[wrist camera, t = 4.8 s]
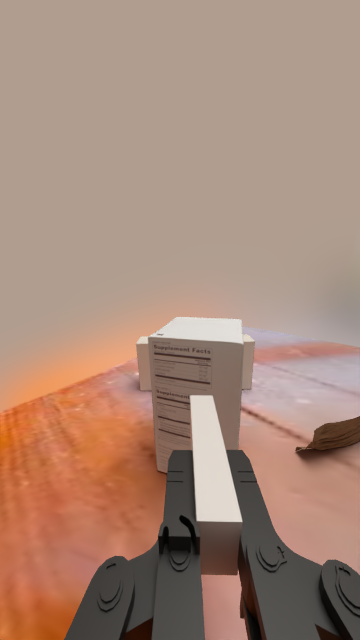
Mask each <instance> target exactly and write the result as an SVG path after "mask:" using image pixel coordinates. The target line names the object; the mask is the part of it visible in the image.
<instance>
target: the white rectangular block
mask: <svg viewBox="0 0 360 640" xmlns="http://www.w3.org/2000/svg"><path fill="white" fill-rule="evenodd" d="M148 337H149V336H148ZM148 337H140V339H139V340H138V342H137V343H136V346H137V358H138V369H139V380H140V391H148V390H151V377H150V362H149V348H148ZM243 341H244V358H243V376H242V389H251V387H252V373H253V360H254V346H255V341H254V340H253V339H252V338H251V337H250V336H249V335H243Z"/></svg>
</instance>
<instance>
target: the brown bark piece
mask: <svg viewBox="0 0 360 640" xmlns="http://www.w3.org/2000/svg"><path fill="white" fill-rule="evenodd" d="M359 440H360V416H359V417H357V418H354V419H350V420H346V421H341V422H336V423H326V424H324V425H322V426H321V427H319V428H317V429H316V430H315V431H314V438H313V442H311V443H310V444H309V445H308V446H307V447H296V451H297V450H300V449H307V448H313V449H316V450H325V449H329V448H335V447H344V446H347V445H351V444H353V443H356V442H358V441H359Z"/></svg>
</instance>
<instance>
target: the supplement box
mask: <svg viewBox="0 0 360 640" xmlns="http://www.w3.org/2000/svg"><path fill="white" fill-rule="evenodd" d="M148 348H149V362H150V377H151V390H152V404H153V419H154V434H155V448H156V462H157V470H158V471H161V472H165V473H167V470H168V459H169V457H170V455H171V453H172V451H173V450H191V440H190V395H212V396H213V399H214V403H215V408H216V412H217V416H218V420H219V424H220V429H221V433H222V437H223V441H224V446H225V450H238V445H239V428H240V411H241V394H242V376H243V358H244V341H243V330H242V320H238V319H218V318H192V317H176V318H174V319H173V320H172V321H171V322H169V323H168V324H167V325H165V326H164V327H163V328H161V329H160V330H158V331H157V332H155V333H154V334H152V335H150V336H149V337H148Z"/></svg>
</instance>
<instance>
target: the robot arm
mask: <svg viewBox="0 0 360 640" xmlns="http://www.w3.org/2000/svg"><path fill="white" fill-rule="evenodd" d="M190 440H191V450H173V451H172V453H171V455H170V457H169V459H168V470H167V483H166V495H165V507H164V519H163V522H162V524H161V526H160V530H159V534H158V540H157V542H156V544H155V545H154V546H153V547H152V548H151V549H150V550H149V551H147V552H146V553H144V554H142V555H140V556H138V557H136V558H134V559H131V560H129V561H128V560H127V559H125V558H124V557H123V556H114V557H112V558H110V559H107V560H106V561H105V562H104V563H103V564H102V565H101V566H100V567H99V568H98V570H97V571H96V573H95V575H94V576H93V578H92V580H91V582H90V584H89V586H88V588H87V591H86V593H85V595H84V597H83V599H82V602H81V604H80V606H79V608H78V610H77V613H76V615H75V617H74V619H73V621H72V624H71V626H70V628H69V630H68V632H67V635H66V637H65V639H64V640H205V633H204V616H203V599H202V582H201V574H202V575H237V573H238V570H239V575H240V581H241V586H242V592H241V601H240V618H244V619H245V625H246V630H247V636H248V640H360V575H359V574H358V573H357V572H356V571H354V570H353V569H352V568H351V567H349V566H348V565H347V564H345V563H342V562H340V561H338V560H327V561H326V562H325V563H324V564H323V566H322V565H319V564H317V563H315V562H313V561H310V560H308V559H306V558H304V557H301V556H300V555H298V554H296V553H294V552H293V551H292V550H290V549H289V548H288V547H287V546H286V545H285V544H284V543H283V542H282V540H281V539H280V538H279V536H278V535H277V533H276V532H275V529H274V527H273V525H272V522H271V519H270V517H269V514H268V511H267V508H266V505H265V502H264V500H263V497H262V494H261V491H260V488H259V485H258V484H257V480H256V477H255V474H254V471H253V468H252V466H251V463H250V460H249V459H248V457H247V456H246V455H245V453H244V452H243V451H242V450H225V446H224V441H223V437H222V433H221V429H220V424H219V420H218V416H217V412H216V408H215V403H214V399H213V396H212V395H190Z"/></svg>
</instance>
